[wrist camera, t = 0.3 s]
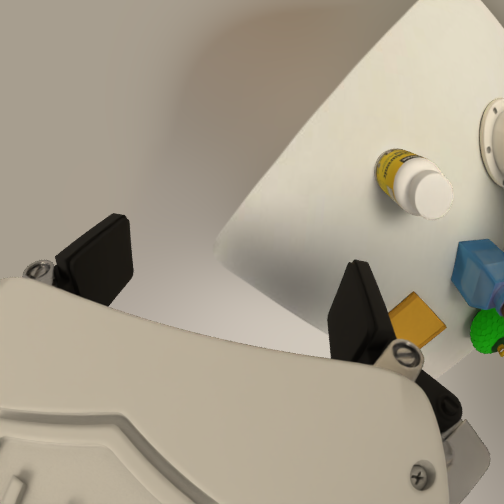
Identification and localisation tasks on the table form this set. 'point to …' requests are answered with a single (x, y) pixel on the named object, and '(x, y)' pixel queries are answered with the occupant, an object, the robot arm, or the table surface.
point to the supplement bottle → (414, 183)
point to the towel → (415, 321)
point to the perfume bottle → (480, 274)
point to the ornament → (488, 332)
